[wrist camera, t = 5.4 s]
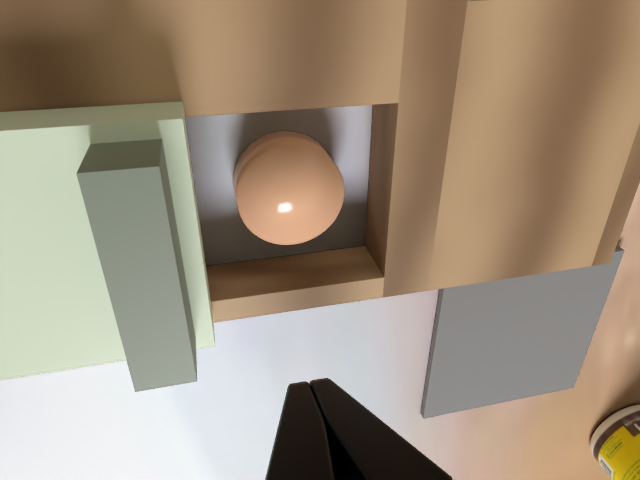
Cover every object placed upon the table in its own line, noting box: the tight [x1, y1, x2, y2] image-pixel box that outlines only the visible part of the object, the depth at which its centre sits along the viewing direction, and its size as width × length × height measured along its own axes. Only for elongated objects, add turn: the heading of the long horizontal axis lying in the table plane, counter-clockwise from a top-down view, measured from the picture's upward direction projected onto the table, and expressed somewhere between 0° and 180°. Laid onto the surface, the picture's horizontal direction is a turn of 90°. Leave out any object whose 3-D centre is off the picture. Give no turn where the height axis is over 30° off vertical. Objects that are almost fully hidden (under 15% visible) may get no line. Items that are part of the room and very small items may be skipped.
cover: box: [0, 101, 215, 392], centre depth 14 cm, size 8×8×4 cm
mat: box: [421, 247, 624, 419], centre depth 27 cm, size 10×10×1 cm
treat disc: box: [233, 131, 344, 245], centre depth 19 cm, size 4×4×2 cm
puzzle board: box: [0, 0, 640, 323], centre depth 16 cm, size 26×20×2 cm
